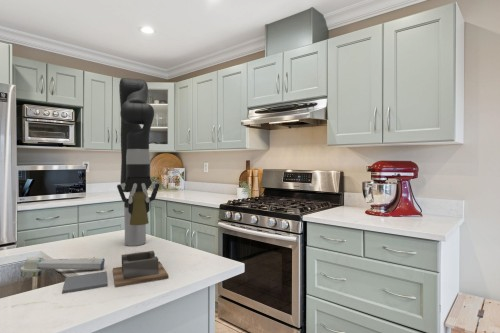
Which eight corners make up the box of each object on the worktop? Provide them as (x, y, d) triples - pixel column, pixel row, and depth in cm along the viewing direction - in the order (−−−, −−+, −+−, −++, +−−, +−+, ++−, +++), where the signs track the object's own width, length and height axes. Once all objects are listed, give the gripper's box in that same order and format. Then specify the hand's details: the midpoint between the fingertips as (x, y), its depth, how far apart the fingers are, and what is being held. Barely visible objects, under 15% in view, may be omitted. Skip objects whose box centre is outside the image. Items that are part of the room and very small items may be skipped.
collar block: (112, 270, 109) (112, 253, 109) (159, 264, 116) (159, 247, 116) (115, 287, 95) (114, 267, 95) (168, 278, 102) (168, 260, 102)
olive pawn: (146, 225, 103) (145, 191, 102) (127, 225, 102) (126, 191, 102) (150, 221, 109) (150, 189, 108) (132, 221, 108) (132, 190, 108)
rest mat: (66, 279, 101) (65, 277, 101) (106, 273, 107) (106, 271, 107) (62, 293, 91) (62, 290, 91) (107, 286, 96) (107, 283, 96)
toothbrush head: (103, 260, 109) (19, 257, 102) (100, 279, 109) (16, 278, 102) (105, 256, 114) (26, 253, 107) (102, 274, 114) (23, 272, 107)
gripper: (158, 162, 112) (158, 210, 112) (114, 163, 105) (115, 213, 106) (162, 162, 105) (162, 214, 105) (115, 163, 99) (116, 217, 99)
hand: (138, 213), depth 105 cm, fingers closed on olive pawn, 4 cm apart
